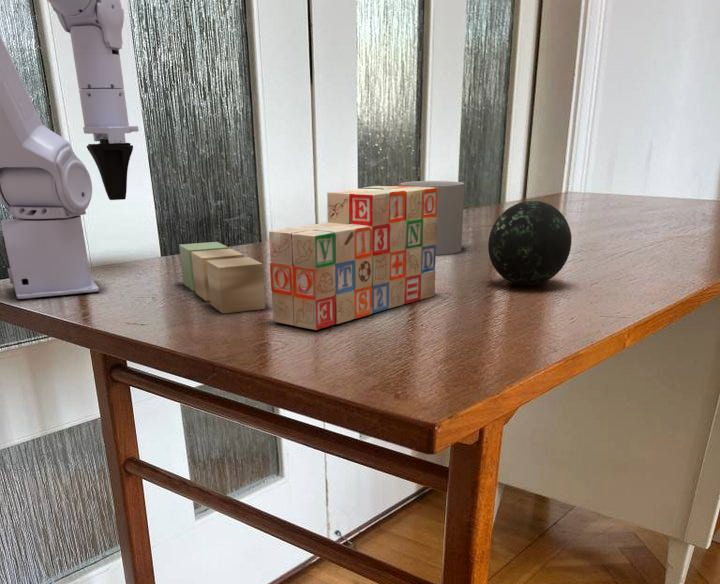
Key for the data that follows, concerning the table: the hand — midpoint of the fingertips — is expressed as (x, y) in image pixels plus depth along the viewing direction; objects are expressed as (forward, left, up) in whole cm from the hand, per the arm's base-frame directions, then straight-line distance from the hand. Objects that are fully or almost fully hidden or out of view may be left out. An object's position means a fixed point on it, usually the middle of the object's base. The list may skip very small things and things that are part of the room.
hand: (117, 199), depth 105 cm
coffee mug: (+48, -6, -10) cm, 49 cm away
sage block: (+7, -18, -9) cm, 21 cm away
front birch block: (+7, -32, -9) cm, 34 cm away
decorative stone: (+43, -37, -10) cm, 58 cm away
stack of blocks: (+19, -39, -10) cm, 44 cm away
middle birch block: (+7, -25, -9) cm, 27 cm away
